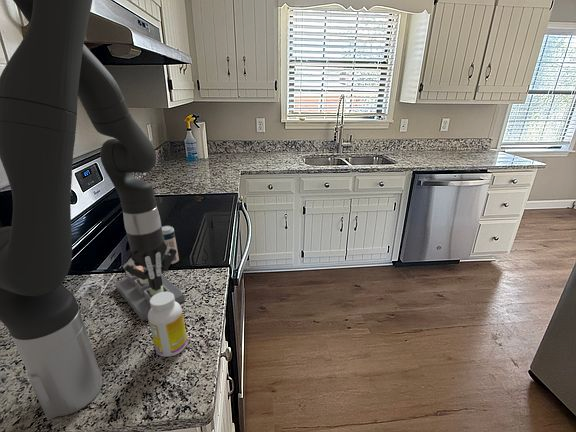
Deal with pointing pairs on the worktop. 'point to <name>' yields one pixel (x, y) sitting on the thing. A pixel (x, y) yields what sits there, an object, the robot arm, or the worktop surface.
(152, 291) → the sage button
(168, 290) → the grey boxy piece
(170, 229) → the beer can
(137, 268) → the terracotta button
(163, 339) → the supplement bottle
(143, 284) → the cream button
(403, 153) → the worktop surface
